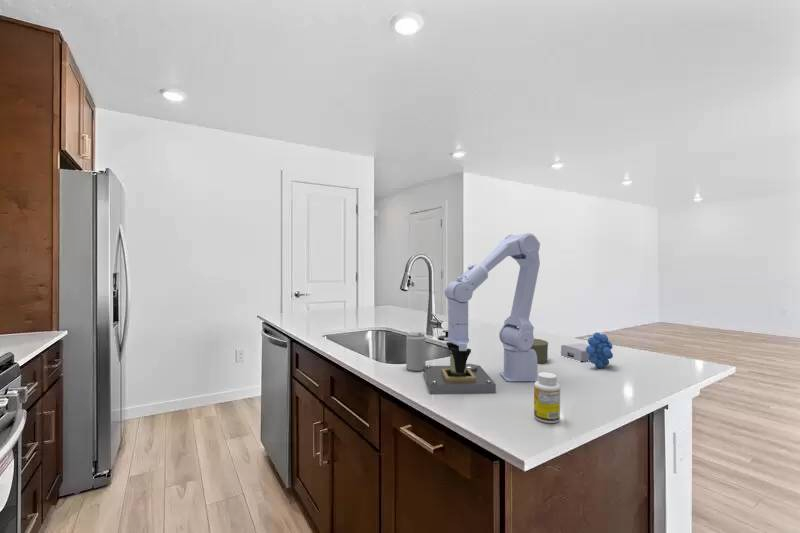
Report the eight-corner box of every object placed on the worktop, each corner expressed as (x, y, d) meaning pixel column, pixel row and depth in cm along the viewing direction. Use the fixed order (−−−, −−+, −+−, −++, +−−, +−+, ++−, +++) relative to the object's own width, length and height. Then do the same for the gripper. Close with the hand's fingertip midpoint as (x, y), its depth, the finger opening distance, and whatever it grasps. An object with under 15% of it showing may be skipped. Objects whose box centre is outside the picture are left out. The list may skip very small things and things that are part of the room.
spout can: (464, 383, 114) (465, 348, 114) (467, 388, 109) (467, 352, 109) (448, 382, 114) (449, 348, 114) (450, 388, 109) (450, 352, 109)
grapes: (598, 373, 123) (598, 336, 122) (580, 367, 129) (581, 332, 129) (623, 369, 127) (623, 333, 127) (604, 363, 134) (605, 329, 133)
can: (548, 366, 131) (548, 346, 131) (511, 363, 135) (511, 343, 135) (548, 358, 142) (548, 339, 142) (514, 355, 146) (514, 337, 146)
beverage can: (424, 372, 123) (424, 335, 123) (404, 371, 125) (404, 334, 124) (426, 367, 130) (426, 331, 129) (408, 366, 131) (408, 331, 131)
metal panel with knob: (479, 373, 123) (479, 362, 123) (495, 393, 105) (495, 380, 105) (423, 373, 122) (423, 362, 122) (429, 393, 104) (429, 381, 104)
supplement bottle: (539, 412, 92) (539, 369, 92) (563, 418, 88) (563, 374, 88) (530, 419, 88) (530, 375, 87) (555, 426, 84) (555, 380, 84)
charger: (611, 358, 141) (581, 363, 136) (590, 353, 150) (560, 356, 144) (611, 345, 141) (581, 349, 135) (590, 340, 150) (560, 344, 144)
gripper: (440, 319, 118) (440, 363, 118) (448, 327, 104) (448, 377, 104) (463, 319, 118) (463, 362, 119) (474, 327, 104) (474, 377, 104)
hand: (458, 369), depth 111 cm, fingers open, 5 cm apart
